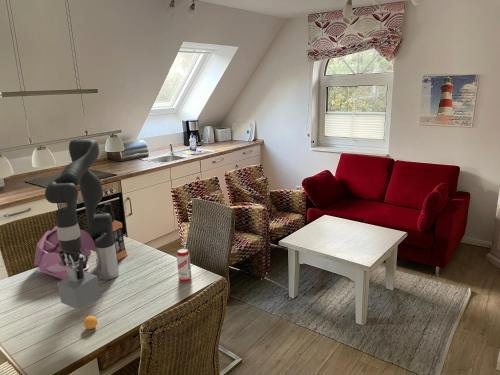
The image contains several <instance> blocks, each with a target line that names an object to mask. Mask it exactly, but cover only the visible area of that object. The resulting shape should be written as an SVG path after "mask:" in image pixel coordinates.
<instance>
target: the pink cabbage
mask: <svg viewBox="0 0 500 375" xmlns="http://www.w3.org/2000/svg"><path fill="white" fill-rule="evenodd" d="M55 225H56V226H54V228H52V230H47V231H46V232H45V233H44V234H43V236H42V237H41V238H40V239H39V241H38V242H37V243H36V247H35V254H34V261H33V267H37V268H38V270H39V271H40V272H41V273H44V274H46V275H49V276H53V277H54V278H57V279H61V280H63V279H65V278H66V277H68V273H67V268H66V265H65V266H64V265H63V263H62V260H61V258H60V255H59V251H61V249H60V245H59V240H58V234H57V224H55ZM80 234H81V240H82V246H81V248H80V251H81V253H82V255H83V256H85V255H87V266H86V268H85V269H83V270H84V272H87V273H89V272H88V271H87V270H88V269H89V267H90V265H89V264H88V262H89V259H90V258H89V257H90V256H91V254H92V252H94V253H96V249H95V240H94V239H93V237H92V236H91V235H90V234H89V233H88V231H85V230H83V229H80ZM64 260H65V259H64ZM77 262H78V261H77ZM85 270H86V271H85Z"/></svg>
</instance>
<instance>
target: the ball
mask: <svg viewBox="0 0 500 375" xmlns="http://www.w3.org/2000/svg"><path fill="white" fill-rule="evenodd" d="M97 325H98V319H97V317H96V316H95V315H89V316H87V317H86V318H85V319H84V321H83V326H84V328H86V329H87V330H92V329H95V327H96V326H97Z"/></svg>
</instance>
